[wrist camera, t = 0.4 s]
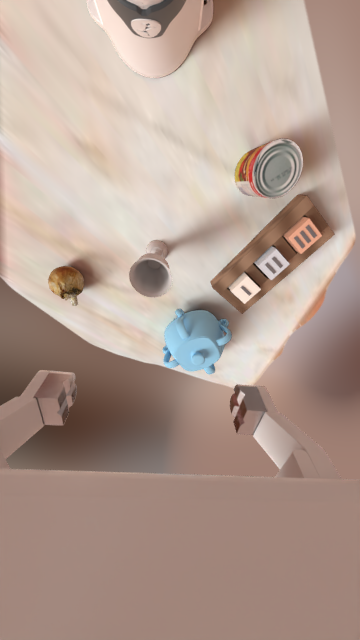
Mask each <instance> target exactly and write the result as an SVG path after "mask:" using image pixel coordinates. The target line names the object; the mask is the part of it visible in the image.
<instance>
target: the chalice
mask: <svg viewBox="0 0 360 640" xmlns="http://www.w3.org/2000/svg"><path fill="white" fill-rule="evenodd" d="M146 253H147V254H145V255H143V256H141V257H140V258H139V260H138V261H137V262H135V263H134V264H133V266H132V267H131V269H130V273H129V277H130V282H131V284H132V286H133V287H134V288H135V290H136V291H137V292H139V293H140V294H142V295H144V296H147V297H159V296H162V295H164V294H166V293H167V292H168V291H169V289H170V288H171V285H172V275H171V272H170V270H169V265H168V263H167V261H166V260H165V258H166V256H167V254H168V250H167V247H166V245H165V244H164V243H163V242H162V241H159V240H154V241H151V242H150V243H149V244H148V245H147V248H146Z"/></svg>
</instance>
